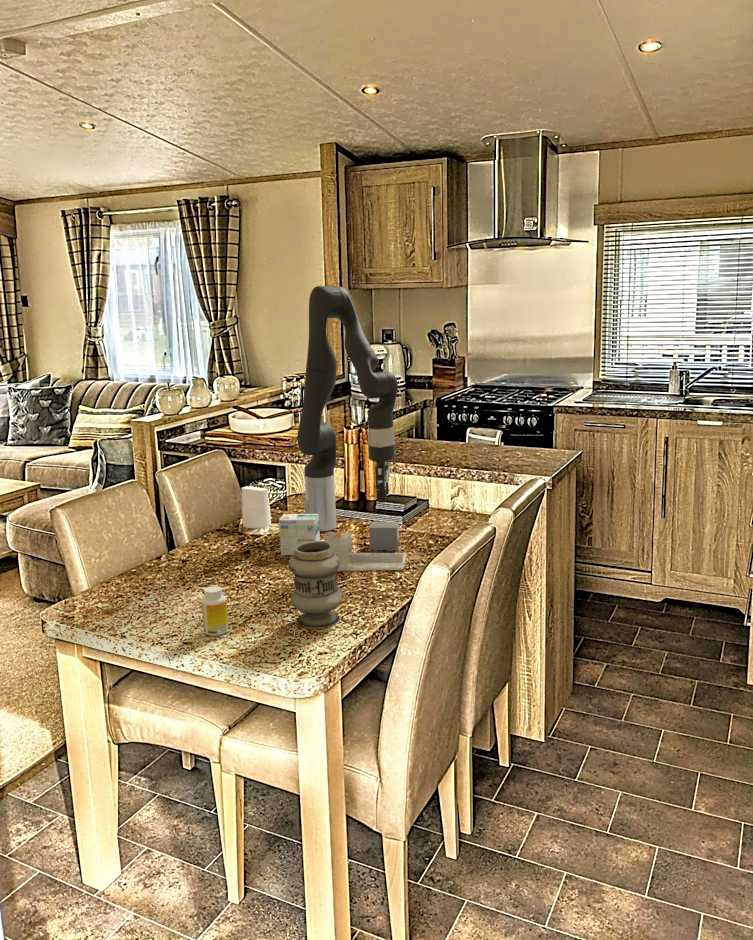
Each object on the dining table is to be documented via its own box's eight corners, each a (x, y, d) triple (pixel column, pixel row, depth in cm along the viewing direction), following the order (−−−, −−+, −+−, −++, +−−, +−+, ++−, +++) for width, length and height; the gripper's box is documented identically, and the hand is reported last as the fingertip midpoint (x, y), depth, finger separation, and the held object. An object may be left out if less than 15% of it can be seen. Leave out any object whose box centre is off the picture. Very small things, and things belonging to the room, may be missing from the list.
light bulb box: (320, 548, 249) (319, 512, 246) (317, 555, 242) (315, 519, 240) (285, 548, 250) (282, 513, 248) (280, 555, 243) (278, 519, 241)
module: (369, 551, 245) (369, 527, 243) (372, 544, 251) (371, 521, 249) (397, 551, 244) (396, 527, 242) (399, 544, 250) (398, 521, 248)
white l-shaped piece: (322, 570, 230) (320, 540, 228) (329, 556, 241) (327, 527, 239) (403, 571, 227) (402, 540, 225) (406, 556, 239) (405, 527, 237)
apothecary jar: (281, 621, 196) (276, 547, 192) (320, 606, 204) (317, 534, 200) (315, 636, 188) (311, 558, 184) (355, 619, 196) (352, 545, 192)
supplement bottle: (233, 631, 192) (230, 588, 190) (213, 639, 188) (210, 595, 186) (218, 624, 196) (215, 582, 193) (198, 632, 192) (195, 589, 189)
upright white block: (276, 522, 277) (274, 486, 274) (258, 529, 269) (256, 493, 267) (255, 519, 282) (252, 484, 279) (237, 526, 274) (234, 490, 271)
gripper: (371, 438, 248) (373, 492, 251) (365, 448, 234) (367, 505, 237) (396, 438, 247) (398, 492, 250) (392, 447, 233) (394, 504, 237)
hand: (383, 498), depth 244 cm, fingers open, 8 cm apart
